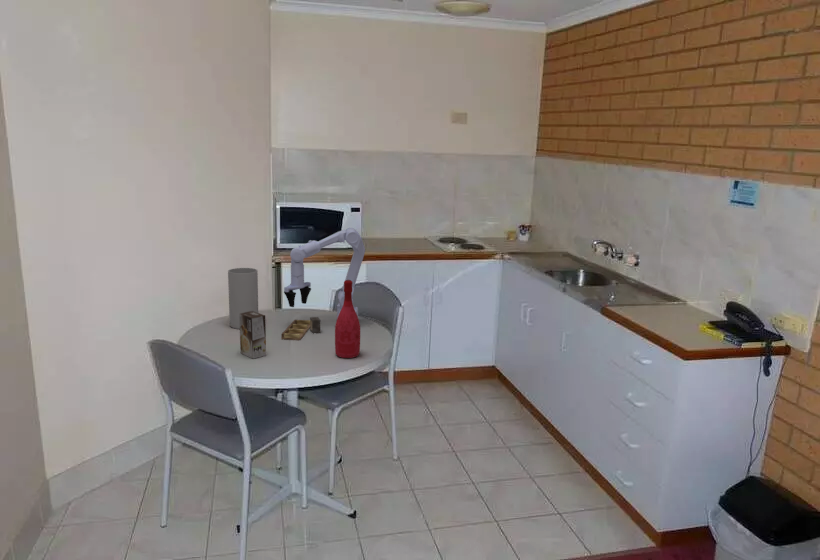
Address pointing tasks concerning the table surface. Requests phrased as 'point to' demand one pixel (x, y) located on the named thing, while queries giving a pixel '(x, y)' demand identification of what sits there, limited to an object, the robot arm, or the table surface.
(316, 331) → the black box
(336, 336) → the wine bottle
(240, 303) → the cylinder vase
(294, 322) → the rack
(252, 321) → the coffee box
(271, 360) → the table surface
